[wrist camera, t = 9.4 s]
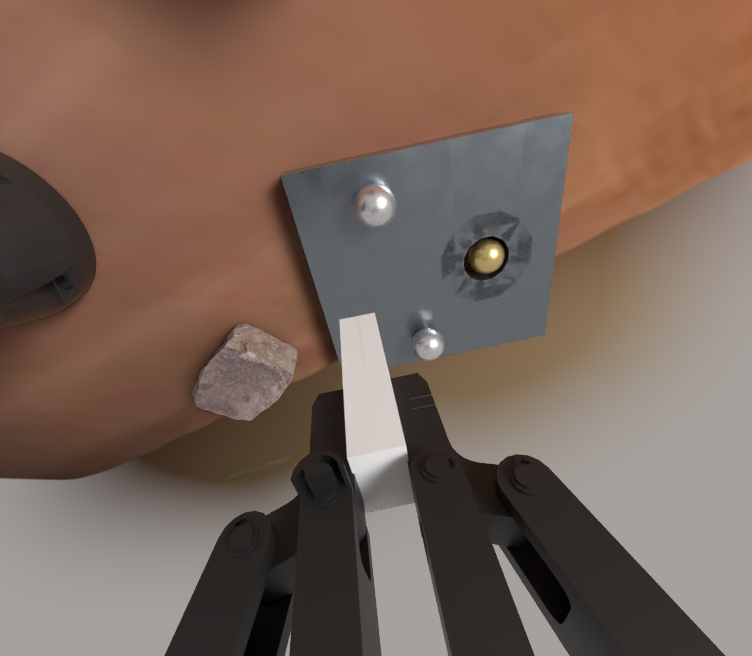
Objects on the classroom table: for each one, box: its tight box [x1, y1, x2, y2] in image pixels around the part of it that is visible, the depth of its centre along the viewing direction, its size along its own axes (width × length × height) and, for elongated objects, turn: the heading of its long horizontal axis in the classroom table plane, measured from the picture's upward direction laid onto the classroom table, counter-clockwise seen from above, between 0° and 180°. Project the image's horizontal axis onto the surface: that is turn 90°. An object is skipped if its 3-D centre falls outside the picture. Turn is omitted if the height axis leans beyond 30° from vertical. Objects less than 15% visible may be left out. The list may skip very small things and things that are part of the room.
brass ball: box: [468, 238, 505, 274], centre depth 33 cm, size 4×4×4 cm
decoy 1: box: [354, 184, 397, 229], centre depth 27 cm, size 4×4×4 cm
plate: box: [281, 112, 574, 369], centre depth 33 cm, size 24×22×2 cm
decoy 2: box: [412, 328, 445, 361], centre depth 35 cm, size 4×4×4 cm
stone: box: [192, 324, 298, 421], centre depth 37 cm, size 9×12×5 cm
